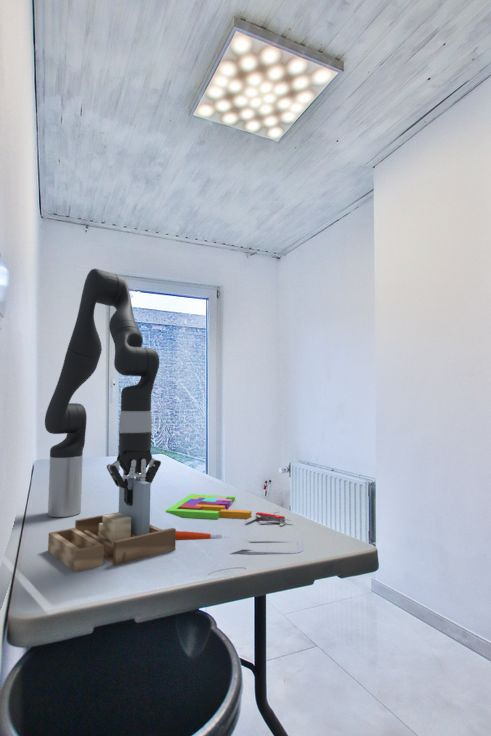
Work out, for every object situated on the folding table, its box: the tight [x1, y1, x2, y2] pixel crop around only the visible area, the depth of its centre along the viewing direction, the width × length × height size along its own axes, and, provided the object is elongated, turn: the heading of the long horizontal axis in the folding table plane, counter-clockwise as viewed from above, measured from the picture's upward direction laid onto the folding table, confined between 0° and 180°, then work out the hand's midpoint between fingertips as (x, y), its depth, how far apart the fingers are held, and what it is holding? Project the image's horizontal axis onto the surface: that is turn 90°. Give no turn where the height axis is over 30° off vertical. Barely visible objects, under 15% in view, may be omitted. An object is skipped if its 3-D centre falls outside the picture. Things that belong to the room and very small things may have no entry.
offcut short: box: [102, 512, 131, 531], centre depth 97 cm, size 6×4×2 cm, turn 42°
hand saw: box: [176, 530, 304, 555], centre depth 100 cm, size 33×3×10 cm
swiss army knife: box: [244, 511, 293, 526], centre depth 121 cm, size 12×14×2 cm
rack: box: [74, 511, 177, 566], centre depth 99 cm, size 22×14×6 cm, turn 42°
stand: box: [47, 527, 104, 573], centre depth 90 cm, size 16×7×5 cm, turn 42°
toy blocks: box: [165, 493, 252, 520], centre depth 136 cm, size 23×2×25 cm
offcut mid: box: [99, 523, 131, 542], centre depth 98 cm, size 8×4×2 cm, turn 42°
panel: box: [118, 475, 152, 536], centre depth 101 cm, size 12×2×14 cm, turn 42°
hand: (133, 504), depth 101 cm, fingers closed on panel, 2 cm apart
